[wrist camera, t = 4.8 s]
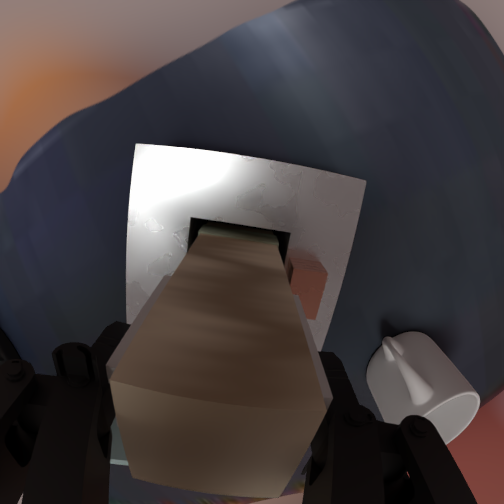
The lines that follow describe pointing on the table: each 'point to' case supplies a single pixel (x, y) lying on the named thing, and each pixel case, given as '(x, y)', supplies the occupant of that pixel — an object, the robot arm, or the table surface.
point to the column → (220, 373)
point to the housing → (241, 219)
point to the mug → (420, 384)
